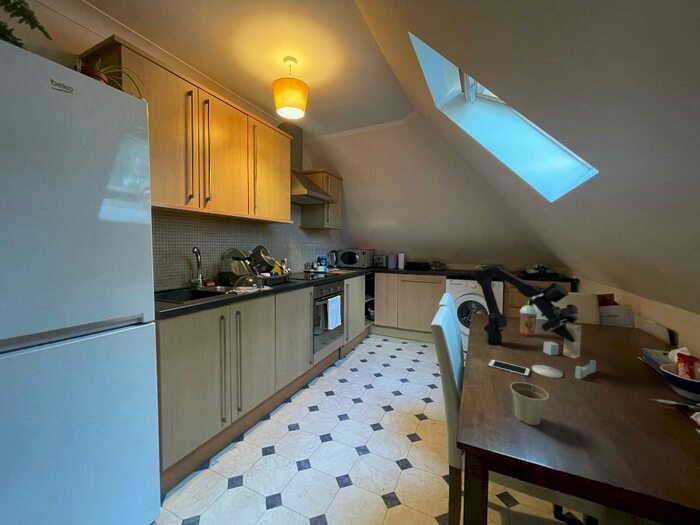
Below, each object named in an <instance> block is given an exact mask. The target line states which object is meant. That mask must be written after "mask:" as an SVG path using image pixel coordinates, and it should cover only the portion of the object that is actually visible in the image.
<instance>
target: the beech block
mask: <svg viewBox="0 0 700 525" xmlns="http://www.w3.org/2000/svg"><path fill="white" fill-rule="evenodd" d="M582 327H583V326H582V325H581V324H576V323H575V324H573V323H567V324H566V329H567V330H568V332H569V333H570V334H571V336H572V337H573V339H574V340H575V342H573V343H572V342H570V341H569V340H567V339H565V338H563V349H562V350H563V351H562V355H563V356H566V357H569V358H573V359H577V358H580V354H581V340H582Z"/></svg>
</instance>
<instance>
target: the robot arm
mask: <svg viewBox="0 0 700 525" xmlns="http://www.w3.org/2000/svg"><path fill="white" fill-rule="evenodd" d="M473 276H474V279H475V280H476V283H477V284H478V285H479V286H480V287H481V290H482V294H483V297H484V301H485V304H486V307H487V311H488V317H487V322H488V323H487V324H486V325H485V326H483V331H484V332H486V333H485V335H486V336H485V339H484V341H485V342H486V343H487V344H488V345H494V346H495V345H496V346H503V334H502V332H504V330H505V329H506V328H507V327H508V323H509V322H508V320H507V318H506V317H507V316H506V314H505V313H504V314H502V313H501V312H500V309H499V306H498V303H497V299H496V296H495V292H494V290H493V286H492V282H493V278H494V277H498V278H499V279H501V280H503V281H504V282H506V283H508V284H510V285H512V287H513V286H514V287H515V288H516V290H517V291H518V292H519V293H520V294H521V295H522V296H524V297H526V298H531V299H529V300H528V301H529V306H535V307H536V308H537V309H538V311H540V313H541V314H540V315H541V317H545V318H546V319H547V320H548V321H546V322H544V323H543V324H541V329H542V330H543V332H545V333H546V332H549V331H550V332H551V333H553V334H556V335H558V336H559V337H562V338H563V339H564V338H565V339H567V340H569V341H570V342H572V343H573V342H575V340H574V339H573V337H572V336H571V334H570V333H569V332H568V330H567V329H566V324H567V323H573V324H576V321H577V320H579V317H578V316H577V315H576V314H579V311H578V310H579V308H578V307H577V306H576V305H574V304H573V303H572V304H571V303H570V304H567V305H566V307H563V308H560V306H555V305H554V304H553V303H559V302H560V301H561V300H563V299H564V298H566V297H568V296H569V294H570V292H569V291H568V290H567V288H565V287H564V286H562V285H560V284H559V283H557V282H553V283H551V284H550V285H549V286H548V287H546V288H544V287H541V286H540V285H538V284H536V283H534V282H531V281H527V280H524V279H522V278H520V277H518V276H516V275H515V274H513V273H511V272H509V271H507V270H505V269H504V268H503V267H501V266H494V267H491V268H487V269H477V270H475V272H474V273H473ZM540 295H541V296H540ZM533 297H535V298H533Z"/></svg>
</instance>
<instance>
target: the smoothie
mask: <svg viewBox="0 0 700 525" xmlns="http://www.w3.org/2000/svg"><path fill="white" fill-rule="evenodd" d="M537 315H538V311H537V310H536V309H535V307H534V306H533V305H530V306H529V300H528V301H527V305H523V306H522V307H521V308H520V309H519V333H520V335H521V334H522V335H521V336H523V335H524V336H523V337H527V336H530V337H529V338H532V336H533V337H534V335H535V333H536V332H535V331H536V325H537V317H538V316H537Z"/></svg>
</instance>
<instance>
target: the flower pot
mask: <svg viewBox="0 0 700 525" xmlns="http://www.w3.org/2000/svg"><path fill="white" fill-rule="evenodd" d="M509 388H510V390H511V393H512V399H513V407H514V415H515V417H516V418H517V419H518V420H519V421H520V422H524V423H525V424H526V425H531V426H537V425H539V424H540V423H541V420H542V417H543V413H544V408H545V405H546V403H547V400H549V398H550V396H549V393H548V392H547V391H546V390H545V389H543V388H541V387H540V386H537V385H535V384H532V383H528V382H523V381H522V382H521V381H520V382H519V381H516V382H513V383H511V384H510V385H509Z"/></svg>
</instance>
